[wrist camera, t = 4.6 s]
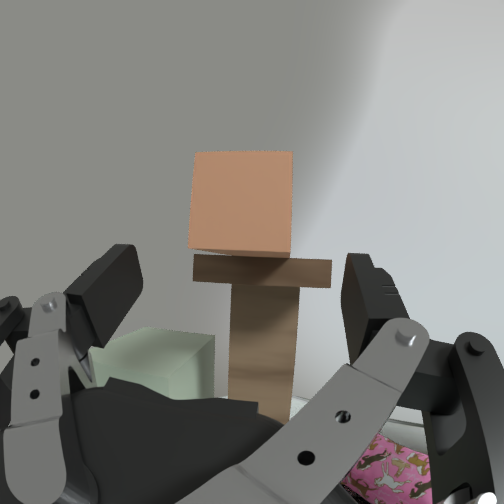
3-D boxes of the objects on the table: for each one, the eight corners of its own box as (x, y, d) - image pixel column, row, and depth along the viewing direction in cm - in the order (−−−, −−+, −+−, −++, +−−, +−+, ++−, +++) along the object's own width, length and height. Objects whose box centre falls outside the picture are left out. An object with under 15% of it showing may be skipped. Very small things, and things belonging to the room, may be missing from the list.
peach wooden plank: (255, 259, 36) (256, 225, 36) (289, 260, 35) (290, 226, 35) (188, 248, 12) (195, 152, 12) (290, 252, 11) (292, 151, 11)
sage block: (154, 452, 38) (145, 326, 39) (214, 465, 37) (215, 335, 38) (108, 510, 22) (73, 355, 23) (184, 535, 21) (168, 378, 22)
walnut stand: (220, 466, 37) (225, 258, 38) (299, 473, 35) (321, 262, 37) (192, 536, 21) (181, 253, 22) (299, 548, 19) (345, 260, 21)
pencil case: (469, 503, 19) (494, 456, 20) (441, 544, 14) (473, 497, 14) (358, 461, 37) (369, 418, 37) (319, 486, 32) (328, 441, 32)
